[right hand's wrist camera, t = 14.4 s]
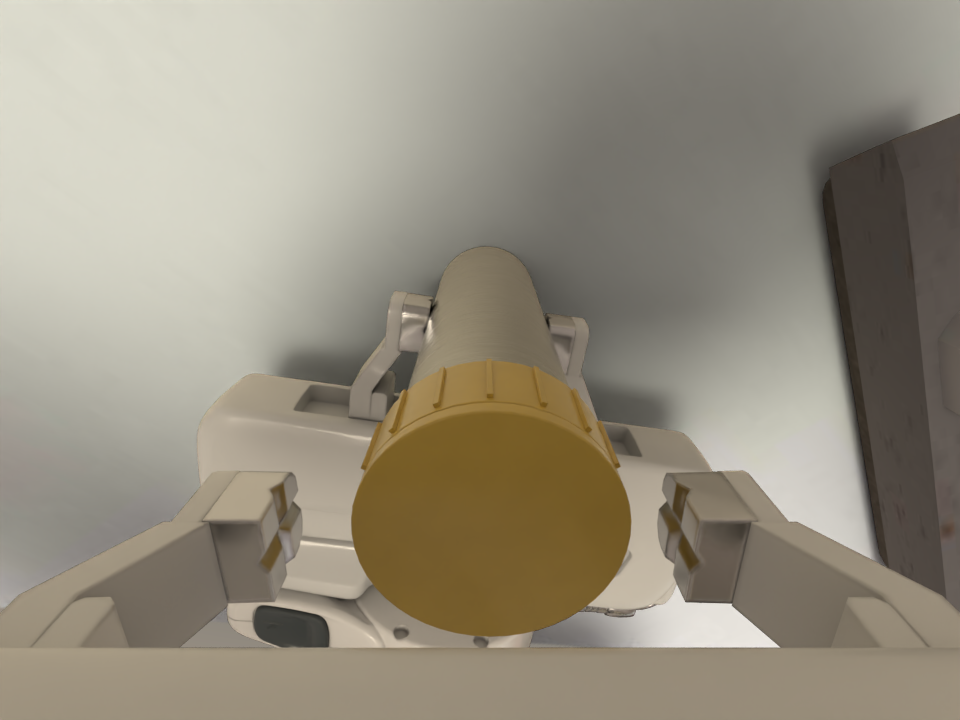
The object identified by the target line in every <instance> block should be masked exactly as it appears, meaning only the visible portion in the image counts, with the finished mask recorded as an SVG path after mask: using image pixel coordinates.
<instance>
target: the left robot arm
mask: <svg viewBox="0 0 960 720" xmlns="http://www.w3.org/2000/svg"><path fill="white" fill-rule="evenodd" d="M433 299H434V297H432V296H425V295H419V294H413V293H408V292H401V291H394V293H393V295H392V297H391V298H390V303H389V308H388V314H387V325H386V336H385V338H384V339H383V340H382V342H381V343H380V344H379V345H378V347H377V348H376V349H375V351H374V352H373V353H372V355H371V356H370V357H369V358H368V360H367V361H366V362H365V364H364V365H363V366H362V368H361V370H360V372H359V373H358V375H357V377H356V379H355V381H354V383H353V385H352V386H344V385H336V384H329V383H322V382H315V381H307V380H300V379H293V378H285V377H278V376H271V375H265V374H249V375H247V376H245V377H243V378H242V379H241V380H239V381H238V382H237V383H236V384H234V385H233V386H232V387H231V388H229V389H228V390H227V391H226V392H225V393H224V394H223V395H221V396H220V397H219V398H218V399H217V401H216V402H215V403H214V404H213V405H212V406H211V407H210V408H209V409H208V411H207V412H206V413H205V415H204V416H203V418H202V420H201V422H200V424H199V427H198V432H197V457H198V469H199V479H200V486H201V485H202V484H203V483H204V482H205V480H206V479H207V478H208V477H209V476H210V474H211V473H213V472H216V471H273V472H292V473H293V474H294V475H295V476H296V480H297V486H298V492H297V494H296V496H295V498H294V500H293V501H294V502H295V503H296V504H297V505H298V506H299V507H300V508H301V511H302V518H303V532H302V537H301V542H300V547H299V549H298V552H297V554H296V556H295V558H294V559H292V560H291V561H289V562H288V563H287V564H286V570H287V576H286V579H285V581H284V583H283V585H282V587H281V589H280V592H279V594H278V596H277V598H276V600H275V602H262V603H228V606H227V618H228V622H229V624H230V626H231V627H232V628H233V629H234V630H235V631H236V632H238V633H239V634H241V635H243V636H245V637H248V638H251V639H254V640H256V641H259V642H262V643H265V644H268V645H271V646H273V647H276V648H529V647H530V643H531V639H532V635H533V631H532V632H528V633H524V634H518V635H510V636H496V637H485V636H471V635H464V634H458V633H453V632H449V631H445V630H441V629H438V628H436V627H433V626H430V625H427V624H425V623H423V622H421V621H419V620H417V619H415V618H413V617H411V616H409V615H408V614H406V613H404V612H403V611H401V610H400V609H398V608H397V607H396V606H394V605H393V604H392V603H391V602H389V601H388V600H387V599H386V598H385V597H384V596H383V595H382V594H381V593H380V592H379V591H378V590H377V589H376V588H375V587H374V585H373V584H372V582H371V581H370V580H369V578H368V577H367V576H366V574H365V572H364V570H363V568H362V566H361V565H360V563H359V560H358V557H357V554H356V552H355V549H354V544H353V539H352V534H351V515H352V505H353V502H354V499H355V496H356V492H357V489H358V486H359V484H360V481H361V478H362V475H363V473H364V470H363V469H361V466H362V463H363V460H364V458H365V455H366V452H367V450H368V447H369V444H370V442H371V439H372V436H373V434H374V431H375V428H376V426H377V423H378V422H380V423H382V422H383V420H384V418H385V416H386V414H387V413H388V412H389V410H390V409H391V407H392V406H393V404H394V403H395V402H396V401H397V400H398V399H399V396H400V393H395V392H394V389H395V377H396V374H395V373H394V371H388V369H389V368H390V367H391V366H392V364H393V363H394V362H395V360H396V359H397V358H398V356H399V355H400V354H401V353H402V351H407V352H415V353H419V350H420V347H421V344H422V341H423V337H424V334H425V331H426V327H427V324H428V321H429V318H430V314H431V311H432V308H433ZM544 317H545V320H546V323H547V326H548V329H549V331H550V334H551V337H552V340H553V343H554V346H555V349H556V351H557V354H558V357H559V360H560V363H561V366H562V369H563V371H564V374H565V377H566V380H567V383H568V386H569V387H570V388H571V389H573V388H575V389H577V390H578V392H579V395H580V398H581V399H582V400H583V401H584V402H585V403H586V404H587V405H588V407H589V409H590V410H591V412H592V413H593V415H594V416H595V418H596V420H597V422H598V421H599V420H598V418H597V416H596V413H595V410H594V407H593V404H592V401H591V398H590V395H589V392H588V389H587V386H586V383H585V381H584V378H583V375H582V373H581V370H582V366H583V361H584V357H585V353H586V349H587V345H588V340H589V326H588V325H587V323H586V321H585V320H584V318H578V317H571V316H564V315H557V314H549V313H546V314H545V316H544ZM602 423H603V426H604V428H605V430H606V433H607V435H608V437H609V440H610V442H611V444H612V447H613V449H614V451H615V454H616V456H617V459H618V461H619V463H620V466H621V467H620V468H617V470H618V473H619V475H620V478H621V480H622V482H623V485H624V487H625V490H626V493H627V497H628V500H629V504H630V510H631V520H632V522H631V536H630V541H629V545H628V550H627V553H626V555H625V558H624V560H623V563H622V565H621V567H620V569H619V570H618V572H617V574H616V576H615V577H614V579H613V580H612V581H611V582H610V584H609V585H608V586H607V588H606V589H605V590H604V591H603V592H602V593H601V594H600V595H599V596H598V597H597V598H596V599H595V600H594V601H593V602H591V603H590V604H589V605H587V606H586V607H585V608H584V609H582V610H581V611H579V612H584V611H585V612H597V613H604V614H605V615H607V616H612V617H631V616H634V614H635V612H636V610H643V609H647V608H650V607H653V606H655V605H661V604H664V603H666V602H667V601H668V600H669V599H670V597H671V596H672V594H673V592H674V589H675V587H676V584H677V583H676V581H675V579H674V576H673V570H674V564H673V563H672V562H671V561H669V560H668V559H666V558H665V556H664V554H663V552H662V549H661V547H660V543H659V539H658V529H657V520H658V511H659V508H660V507H661V506H662V505H663V504H664V503H665V502H666V501H667V500H666V498H665V496H664V494H663V492H662V485H663V479H664V477H665V475H666V473H674V472H713V471H712V469H711V468H710V466H709V464H708V462H707V461H706V459H705V458H704V456H703V455H702V454H701V452H700V451H699V450H698V449H697V447H696V446H695V445H694V443H693V442H692V441H691V440H690V438H689V437H687V436H686V435H685V434H684V433H681V432H677V431H672V430H665V429H657V428H650V427H643V426H635V425H628V424H621V423H613V422H606V421H602Z"/></svg>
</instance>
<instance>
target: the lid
mask: <svg viewBox="0 0 960 720" xmlns="http://www.w3.org/2000/svg"><path fill="white" fill-rule="evenodd" d="M620 467H621V466H620V463H619V461H618V459H617V456H616V454H615V451H614V449H613V447H612V444H611V442H610V440H609V437H608V435H607V433H606V430H605V428H604V426H603V423H602V421H601V420H600V421H598V422H597V420H596V418H595V416H594V415H593V413H592V412H591V410H590V409H589V407H588V405H587V404H586V403H585V402H584V401H583V400H582V399H581V398H580V395H579V392H578V390H577V389H575V388H573V389H571V388H570V387H568V386H567V385H566V384H564V383H563V382H561V381H560V380H558V379H556V378H555V377H553V376H551V375H549V374H547V373H545V372H543V371H541V370H539V367H537V366H534V367H533V368H532V367H529V366H526V365H522V364H517V363H512V362H504V361H492V359H486V361H475V362H469V363H463V364H458V365H455V366H452V367H448V368H445V367H441V368H439V371H438V372H436V373H433V374H431V375H429V376H427V377H425V378H424V379H422V380H421V381H419V382H417V383H416V384H414V385H413V386H412V387H411V388H410V389H408V390H407V391H406V390H405V389H404V390H403V391H401V393H400V396H399V399H398V400H397V401H396V402H395V403H394V404H393V406H392V407H391V409H390V410H389V412H388V413H387V414H386V416H385V418H384V420H383V422H382V423H380V422H378V423H377V426H376V428H375V431H374V434H373V436H372V439H371V442H370V444H369V447H368V450H367V452H366V455H365V458H364V460H363V463H362V466H361V469H363V470H364V473H363V475H362V478H361V481H360V484H359V486H358V489H357V492H356V496H355V499H354V502H353V505H352V515H351V534H352V539H353V544H354V549H355V552H356V554H357V557H358V560H359V563H360V565H361V566H362V568H363V570H364V572H365V574H366V576H367V577H368V578H369V580H370V581H371V582H372V584H373V585H374V587H375V588H376V589H377V590H378V591H379V592H380V593H381V594H382V595H383V596H384V597H385V598H386V599H387V600H388V601H389V602H391V603H392V604H393V605H394V606H396V607H397V608H398V609H400V610H401V611H403V612H404V613H406V614H408V615H409V616H411V617H413V618H415V619H417V620H419V621H421V622H423V623H425V624H427V625H430V626H433V627H436V628H438V629H441V630H445V631H449V632H453V633H458V634H464V635H471V636H485V637H496V636H510V635H518V634H524V633H528V632H532V631H537V630H540V629H543V628H546V627H549V626H552V625H554V624H556V623H559V622H561V621H563V620H565V619H567V618H569V617H571V616H572V615H574V614H576V613H577V612H579V611H581V610H582V609H584V608H585V607H586V606H587V605H589V604H590V603H591V602H593V601H594V600H595V599H596V598H597V597H598V596H599V595H600V594H601V593H602V592H603V591H604V590H605V589H606V588H607V586H608V585H609V584H610V582H611V581H612V580H613V579H614V577H615V576H616V574H617V572H618V570H619V569H620V567H621V565H622V563H623V560H624V558H625V555H626V553H627V550H628V545H629V541H630V536H631V522H632V520H631V510H630V504H629V500H628V497H627V493H626V490H625V487H624V485H623V482H622V480H621V478H620V475H619V473H618V470H617V468H620Z"/></svg>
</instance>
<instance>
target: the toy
mask: <svg viewBox="0 0 960 720" xmlns="http://www.w3.org/2000/svg"><path fill="white" fill-rule="evenodd" d="M829 170H830V177H831V178H830V179H829V180H828V181H827V183H826V184H825V188H824V191H823V206H824V212H825V218H826V224H827V230H828V237H829V243H830V249H831V255H832V261H833V267H834V274H835V280H836V286H837V292H838V298H839V305H840V311H841V317H842V323H843V329H844V336H845V342H846V348H847V354H848V360H849V367H850V373H851V379H852V385H853V391H854V398H855V404H856V410H857V416H858V422H859V429H860V435H861V441H862V447H863V453H864V460H865V466H866V472H867V478H868V484H869V491H870V497H871V503H872V509H873V515H874V522H875V528H876V534H877V540H878V546H879V553H880V555H881V557H882V559H883V561H884V563H885V565H886V566H887V568H889V569H891V570H893V571H895V572H897V573H899V574H901V575H903V576H905V577H907V578H909V579H911V580H913V581H914V582H916V583H918V584H920V585H922V586H924V587H926V588H928V589H930V590H932V591H934V592H936V593H938V594H940V595H942V596H943V597H944V598H945V599H946V600H947V601H948V602H949V603H950V604H951V605H952V606H953V607H954V608H956V609H957V610H958V611H959V612H960V114H958V115H955V116H953V117H950V118H947V119H945V120H942V121H940V122H937V123H935V124H932V125H929V126H927V127H924V128H922V129H919V130H916V131H914V132H911V133H909V134H906V135H904V136H901V137H898V138H896V139H893V140H891V141H888V142H886V143H884V144H881V145H879V146H877V147H875V148H872V149H870V150H868V151H866V152H863V153H861V154H859V155H857V156H855V157H852V158H850V159H848V160H846V161H844V162H841V163H839V164H837V165H835V166H833V167H830V168H829Z"/></svg>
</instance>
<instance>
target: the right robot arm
mask: <svg viewBox="0 0 960 720" xmlns="http://www.w3.org/2000/svg"><path fill="white" fill-rule="evenodd" d="M297 492H298V486H297V480H296V476H295V475H294V474H293V473H292V472H273V471H216V472H213V473H211V474H210V476H209V477H208V478H207V479H206V480H205V482H204V483H203V484H202V485H201V486H200V488H199V489H198V490H197V491H196V492H195V494H194V495H193V496H192V497H191V498H190V500H189V501H188V502H187V503H186V504H185V506H184V507H183V508H182V509H181V511H180V512H179V513H178V514H177V515H176V517H175V518H174V519H173V520H172V521H171V522H162V523H160V524H158V525H156V526H154V527H152V528H150V529H148V530H146V531H144V532H142V533H140V534H138V535H136V536H134V537H132V538H130V539H128V540H126V541H124V542H122V543H120V544H118V545H116V546H114V547H112V548H110V549H108V550H106V551H104V552H102V553H100V554H98V555H96V556H95V557H93V558H91V559H89V560H87V561H85V562H83V563H81V564H79V565H77V566H75V567H73V568H71V569H69V570H67V571H65V572H63V573H61V574H59V575H57V576H55V577H53V578H51V579H49V580H47V581H45V582H43V583H41V584H39V585H37V586H35V587H33V588H31V589H29V590H27V591H25V592H23V593H22V594H20V595H18V596H17V597H16V598H15V599H14V600H13V601H12V602H11V603H10V604H9V605H8V606H7V607H6V608H5V609H4V610H3V611H2V612H1V613H0V720H960V612H959V611H958V610H957V609H956V608H954V607H953V606H952V605H951V604H950V603H949V602H948V601H947V600H946V599H945V598H944V597H943V596H942V595H940V594H938V593H936V592H934V591H932V590H930V589H928V588H926V587H924V586H922V585H920V584H918V583H916V582H914V581H913V580H911V579H909V578H907V577H905V576H903V575H901V574H899V573H897V572H895V571H893V570H891V569H889V568H887V567H885V566H883V565H881V564H879V563H877V562H875V561H873V560H871V559H869V558H867V557H865V556H863V555H861V554H859V553H857V552H855V551H853V550H852V549H850V548H848V547H846V546H844V545H842V544H840V543H838V542H836V541H834V540H832V539H830V538H828V537H826V536H824V535H822V534H820V533H818V532H816V531H814V530H812V529H810V528H808V527H806V526H804V525H802V524H800V523H798V522H789V521H788V520H787V519H786V518H785V517H784V515H783V514H782V513H781V512H780V511H779V509H778V508H777V507H776V506H775V505H774V503H773V502H772V501H771V500H770V499H769V497H768V496H767V495H766V494H765V493H764V491H763V490H762V489H761V488H760V487H759V485H758V484H757V483H756V482H755V481H754V479H753V478H752V477H751V476H750V475H749V473H747V472H745V471H743V470H740V471H717V472H674V473H666V475H665V477H664V479H663V485H662V492H663V494H664V496H665V498H666V500H667V501H666V502H665V503H664V504H663V505H662V506H661V507H660V508H659V511H658V520H657V529H658V539H659V543H660V547H661V549H662V552H663V554H664V556H665V558H666V559H668V560H669V561H671V562H672V563H673V564H674V570H673V576H674V579H675V581H676V583H677V585H678V587H679V589H680V592H681V594H682V596H683V598H684V600H685V602H697V603H732V606H733V607H734V608H735V609H736V610H738V611H739V612H740V613H741V614H742V615H743V616H745V617H746V618H747V619H748V620H749V621H750V622H752V623H753V624H754V625H755V626H756V627H757V628H759V629H760V630H761V631H762V632H763V633H764V634H766V635H767V636H768V637H769V638H770V639H771V640H773V641H774V642H775V643H776V644H777V645H778V646H780V647H781V648H179V647H181V646H182V645H183V644H184V643H185V642H186V641H188V640H189V639H190V638H191V637H192V636H193V635H195V634H196V633H197V632H198V631H199V630H200V629H202V628H203V627H204V626H205V625H206V624H207V623H209V622H210V621H211V620H212V619H213V618H214V617H216V616H217V615H218V614H219V613H220V612H221V611H223V610H224V609H225V608H226V607H227V606H228V603H262V602H275V600H276V598H277V596H278V594H279V592H280V589H281V587H282V585H283V583H284V581H285V579H286V576H287V570H286V564H287V563H288V562H289V561H291V560H292V559H294V558H295V556H296V554H297V552H298V549H299V547H300V542H301V537H302V532H303V518H302V511H301V508H300V507H299V506H298V505H297V504H296V503H295V502H294V501H293V500H294V498H295V496H296V494H297Z"/></svg>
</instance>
